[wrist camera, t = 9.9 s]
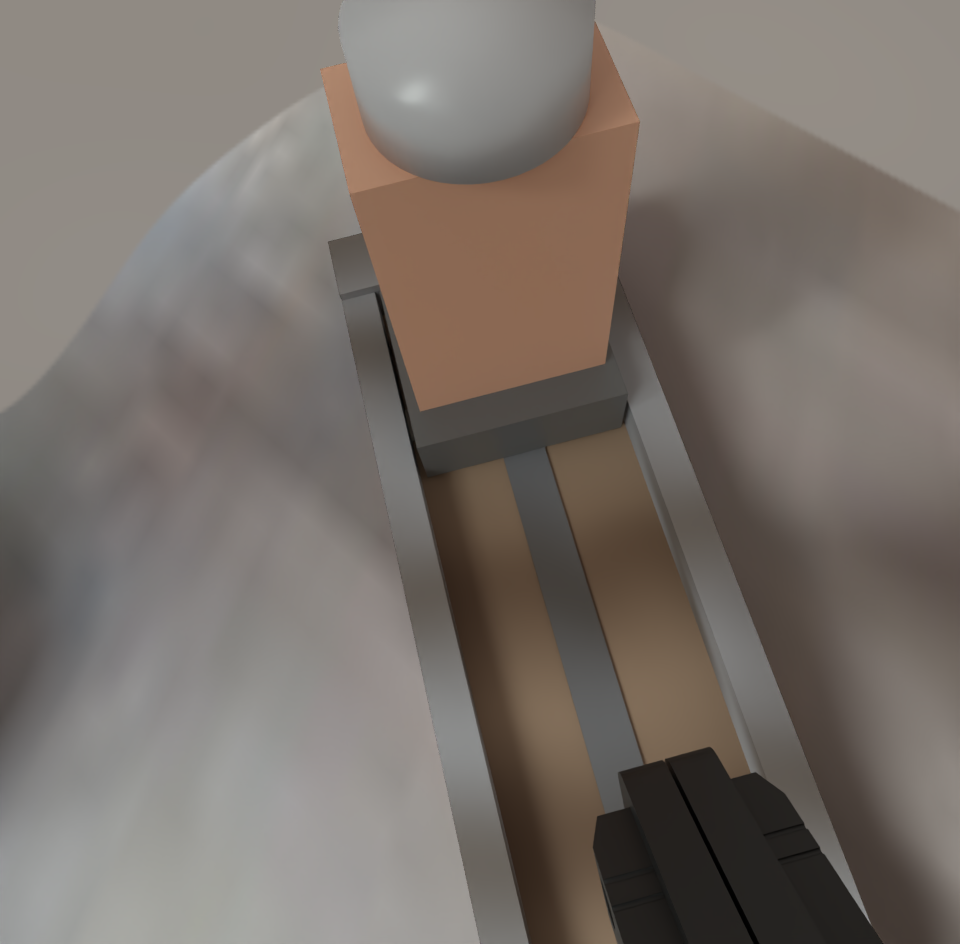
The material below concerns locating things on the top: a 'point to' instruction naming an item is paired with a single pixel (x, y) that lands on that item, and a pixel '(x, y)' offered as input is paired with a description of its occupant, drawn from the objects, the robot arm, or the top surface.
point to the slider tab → (489, 213)
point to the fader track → (568, 634)
